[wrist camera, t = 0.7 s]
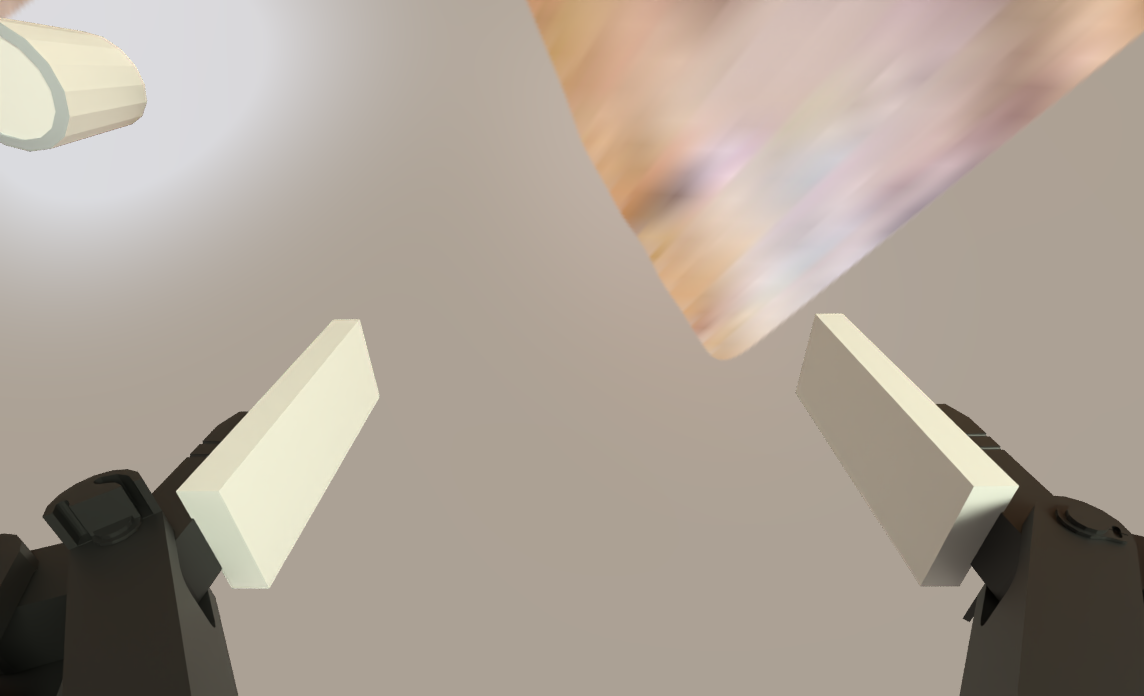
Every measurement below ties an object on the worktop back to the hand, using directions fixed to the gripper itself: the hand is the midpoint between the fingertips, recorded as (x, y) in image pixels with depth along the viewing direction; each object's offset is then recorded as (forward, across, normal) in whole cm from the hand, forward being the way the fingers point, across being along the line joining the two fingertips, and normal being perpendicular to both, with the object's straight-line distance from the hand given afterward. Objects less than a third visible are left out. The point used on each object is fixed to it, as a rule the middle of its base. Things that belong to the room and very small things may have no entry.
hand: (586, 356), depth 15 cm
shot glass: (+26, -32, +7) cm, 42 cm away
